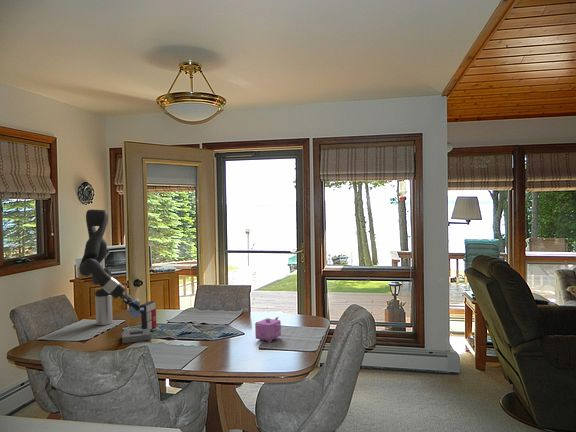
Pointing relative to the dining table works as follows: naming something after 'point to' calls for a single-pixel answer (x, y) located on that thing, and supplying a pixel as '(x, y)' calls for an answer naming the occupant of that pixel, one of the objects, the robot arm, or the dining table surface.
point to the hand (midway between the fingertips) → (138, 308)
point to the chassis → (136, 335)
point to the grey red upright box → (148, 315)
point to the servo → (133, 311)
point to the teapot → (268, 329)
